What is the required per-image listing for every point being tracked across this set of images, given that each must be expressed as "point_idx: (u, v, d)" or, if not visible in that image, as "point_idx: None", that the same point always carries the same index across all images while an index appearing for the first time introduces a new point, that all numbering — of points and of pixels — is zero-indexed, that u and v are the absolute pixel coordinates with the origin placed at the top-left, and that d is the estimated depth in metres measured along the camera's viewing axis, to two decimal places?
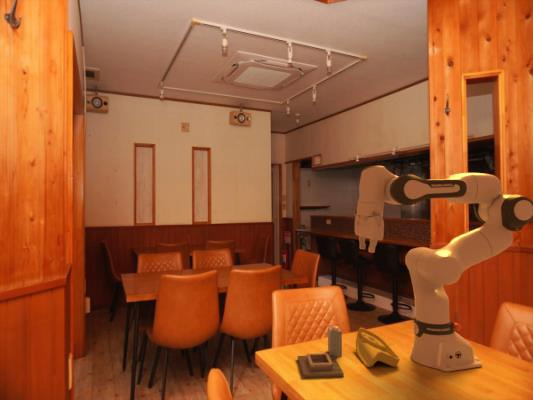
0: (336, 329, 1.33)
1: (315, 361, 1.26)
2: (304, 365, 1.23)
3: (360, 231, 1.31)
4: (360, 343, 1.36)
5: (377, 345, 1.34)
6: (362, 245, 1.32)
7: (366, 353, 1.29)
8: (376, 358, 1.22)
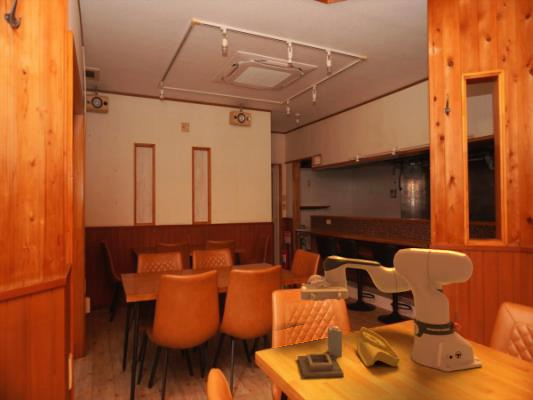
0: (336, 329, 1.33)
1: (315, 361, 1.26)
2: (304, 365, 1.23)
3: (316, 290, 1.54)
4: (361, 343, 1.36)
5: (378, 345, 1.34)
6: None
7: (366, 352, 1.29)
8: (376, 357, 1.22)
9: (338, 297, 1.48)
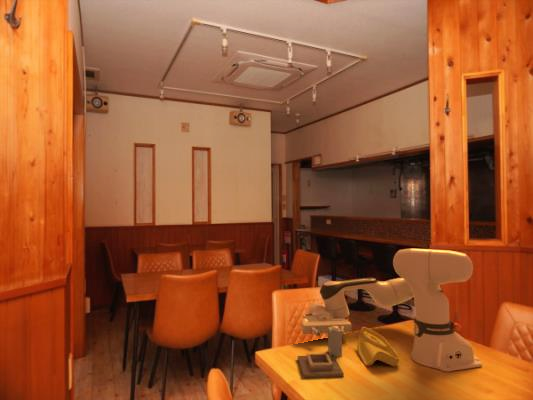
0: (336, 329, 1.33)
1: (315, 361, 1.26)
2: (304, 365, 1.23)
3: (317, 323, 1.48)
4: (362, 342, 1.37)
5: (378, 344, 1.34)
6: None
7: (366, 352, 1.30)
8: (375, 357, 1.23)
9: None
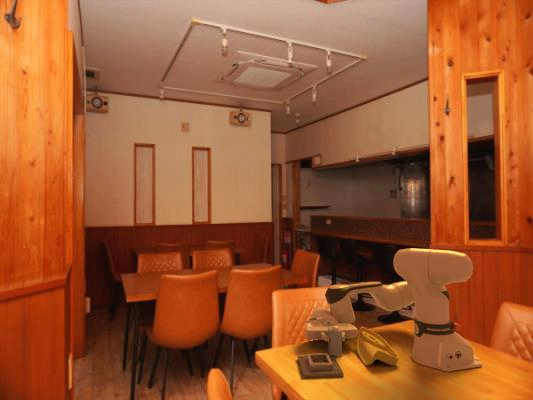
0: (336, 329, 1.33)
1: (315, 361, 1.26)
2: (304, 365, 1.23)
3: (322, 328, 1.41)
4: (360, 342, 1.37)
5: (377, 344, 1.35)
6: None
7: (365, 352, 1.30)
8: (375, 357, 1.23)
9: (342, 338, 1.34)
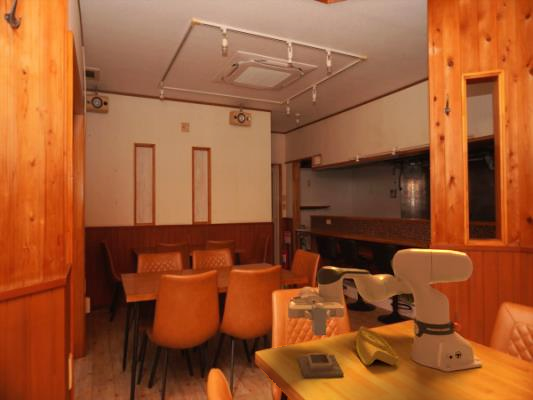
0: (320, 306, 1.23)
1: (315, 361, 1.26)
2: (304, 365, 1.23)
3: (306, 306, 1.30)
4: (360, 342, 1.37)
5: (377, 344, 1.35)
6: (312, 315, 1.25)
7: (365, 351, 1.30)
8: (374, 356, 1.23)
9: (326, 316, 1.24)
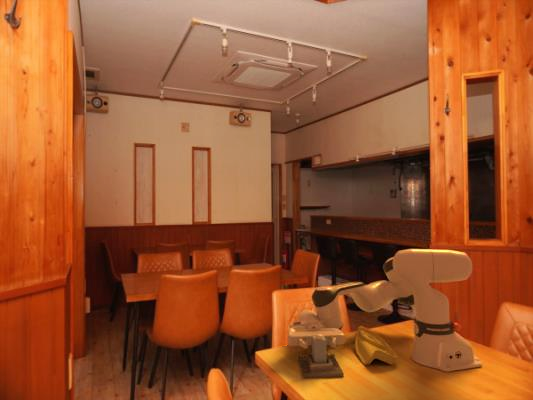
0: (320, 338, 1.22)
1: None
2: (304, 365, 1.23)
3: (306, 333, 1.29)
4: (359, 341, 1.38)
5: (376, 343, 1.36)
6: None
7: (364, 351, 1.31)
8: (373, 356, 1.24)
9: (332, 344, 1.23)
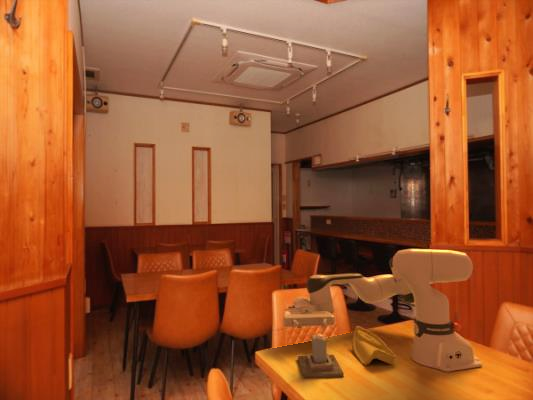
0: (320, 338, 1.22)
1: None
2: (304, 365, 1.23)
3: (299, 315, 1.43)
4: (357, 341, 1.38)
5: (373, 343, 1.36)
6: None
7: (363, 351, 1.31)
8: (373, 356, 1.24)
9: (323, 324, 1.37)
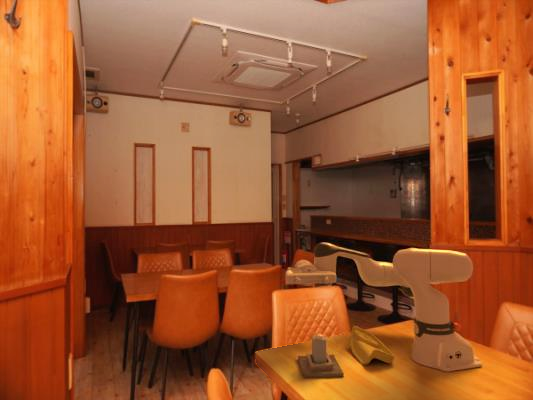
0: (320, 338, 1.22)
1: None
2: (304, 365, 1.23)
3: (302, 274, 1.44)
4: (354, 341, 1.38)
5: (371, 343, 1.36)
6: (302, 280, 1.39)
7: (361, 351, 1.31)
8: (372, 355, 1.24)
9: (325, 280, 1.38)
